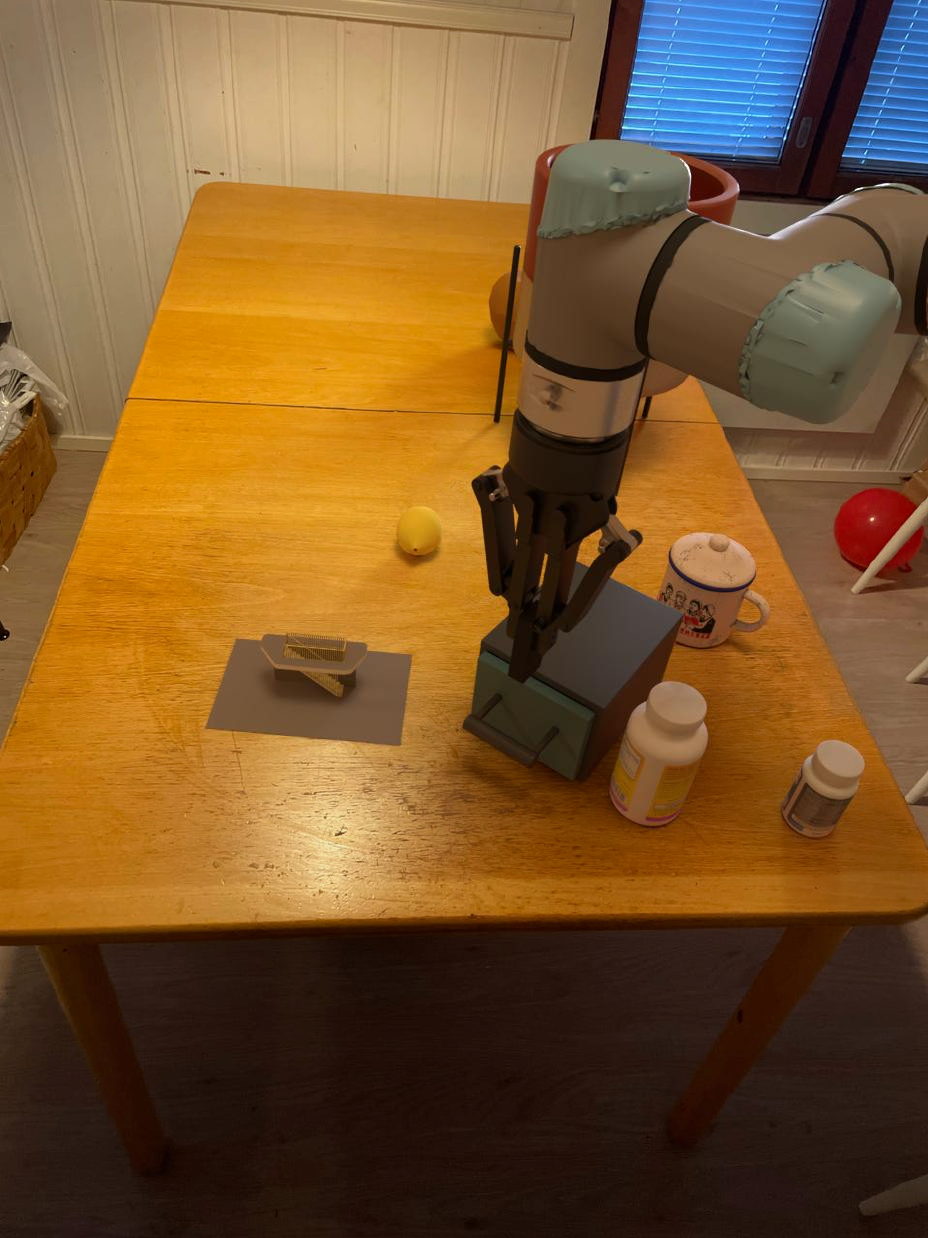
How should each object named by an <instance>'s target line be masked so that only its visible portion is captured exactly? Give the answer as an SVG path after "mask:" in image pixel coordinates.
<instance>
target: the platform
mask: <svg viewBox="0 0 928 1238" xmlns="http://www.w3.org/2000/svg"><path fill="white" fill-rule="evenodd" d="M331 638H332V639H331ZM412 657H413V654H409V653H399V652H390V651H389V652H388V651H377V650H369V649H368V644H367V643H366V642H363V641H350V640H348V637H346V636H337V635H336V636H334V635H324V634H314V633H305V632H304V633H303V632H293V631H286V632H285V634H276V633H275V634H274V633H266V634H263V635H262V638H261V640H258V639H249V638H248V639H246V638H237V637H236V638H235V641H234V644H233V646H232V649H231V653H230V655H229V659H228V661H227V664H226V666H225V669H224V673H223V676H222V678H221V681H220V685H219V687H218V690H217V693H216V695H215V697H214V700H213V701H214V702H213V704H212V707H211V710H210V712H209V716H208V718H207V722H206V724H205V727H204V728H205V729H214V730H225V731H235V732H236V731H237V732H246V733H257V734H258V733H259V734H269V735H278V736H291V737H302V738H314V739H322V740H323V739H325V740H335V741H345V742H355V743H366V744H367V743H368V744H378V745H390V746H401V742H402V735H403V734H402V733H403V727H404V726H403V725H404V720H405V712H406V704H407V696H408V688H409V681H410V680H409V679H410V673H411V665H412V659H413V658H412Z"/></svg>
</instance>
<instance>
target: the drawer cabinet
mask: <svg viewBox="0 0 928 1238" xmlns="http://www.w3.org/2000/svg"><path fill="white" fill-rule="evenodd" d="M589 567H590V566H589V565H586V564H584V563H582V562H580V561H578V560H576V565H575V569H574V574H573V578H572V583H571V588H570V592H569V597H568V601H567V605H568V603H569V601H570V600H571V598H572V596H573V594H574V593H575V591H576V589H577V588H578V586H579V584H580V582H581V581H582V579H583V577H584V576H585V574H586V572H587V571H588V569H589ZM541 588H542V584H540V585H539V589H538V591H539V590H541ZM540 594H541V592H540V593H539V594H538V595H537V596H536V597H535V598H534V599H533V602H534V601H536V600H539V599H540ZM683 617H684V613H682V612H680V611H678V610H676V609H674V608H672V607H670V606H668V605H666V604H664V603H661V602H659V601H657V599H655V598H653V597H651V596H649V595H647V594H645V593H643V592H641V591H639V590H637V589H635V588H633V587H632V586H629V585H626V584H625V583H623V582H621V581H618V580H617V579H614V578H613V577H612V576H611V577H610V578H609V580H608V581H607V583H606V585H605V586H604V588H603V589H602V591H601V593H600V594H599V596H598V598H597V599H596V601H595V602H594V604H593V606H592V607H591V609H590V610H589V612H588V614H587V615H586V616H585V617H584V618H583V619H582V620H581V621H580V622H579V623H578V624H577V625H576V626H575V627H574V628H573V629H572V630H571V631H570V632H569V633H565V632H563V631H561V630H560V629H559V631H558V635H557V640H556V643H555V644H554V646H553V647H552V648H551V649H550V650H549V651H548V652H547V653H546V654H545V655H544V656H543V657H542V662H541V666H540V667H539V668H538V669H537V670H536V671H535V672H534V673H533V674H532V676H534V677H536V678H538V679H540V680H541V681H543V682H545V683H547V684H548V685H550V686H552V687H554V688H555V689H557V690H559V691H561V692H563V693H564V694H566V695H568V696H570V697H571V698H573V699H575V700H577V701H579V702H580V703H582V704H584V705H586V706H587V707H589V708H591V709H593V710H595V711H594V712H595V717H594V720H593V724H592V728H591V731H590V735H589V739H588V742H587V746H586V750H585V753H584V757H583V760H582V764H581V768H580V771H579V774H578V775H577V776H576V778H575V779H577V780H578V781H580V782H582V783H584V782H585V781H586V780H587V779H588V777H589V776H591V774H592V772H593V771H594V770H595V769H596V767H598V765H599V764H600V762H601V761H602V760H603V759H604V757H605V756H606V755H607V754H608V752H609V751H610V750H611V748H612V747H613V746H614V745H615V743H617V741H618V740H619V739H620V737H621V736H622V735H623V734H624V733H625V730H626V727H627V724H628V721H629V718H630V716H631V714H632V712H633V711H634V710H635V708H637V707H638V706H639V705H640V704H642V703H644V702H646V701H647V699H648V697H649V694H650V692H651V690H652V689H653V687H655V686H656V685H657V684H660V683H662V681H663V678H664V675H665V674H666V673H665V672H666V669H667V667H668V665H669V660H670V658H671V655H672V652H673V649H674V646H675V642H676V641H675V640H676V637H677V634H678V631H679V628H680V625H681V622H682V620H683ZM507 620H508V615H506V616H505V617H504V618H503V619H502V620H500V622H499V623H498V624H497V625H496V626H495V627H493V629H491V630H490V631H489V632H488V633H487V634H485V636H484V637H483V638H481V639H480V646H479V654H478V657H479V656H480V655H481V654H482V653H484V652H485V651H487V652H489V653H490V654H492V655H494V656H496V657H497V658H499V657H500V658H502V659H504V660H506V661H508V662H509V663H510V659H511V653H512V647H513V642H514V640H513V639H511V638H509V637H507V634H506V627H507V622H508V621H507Z"/></svg>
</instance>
